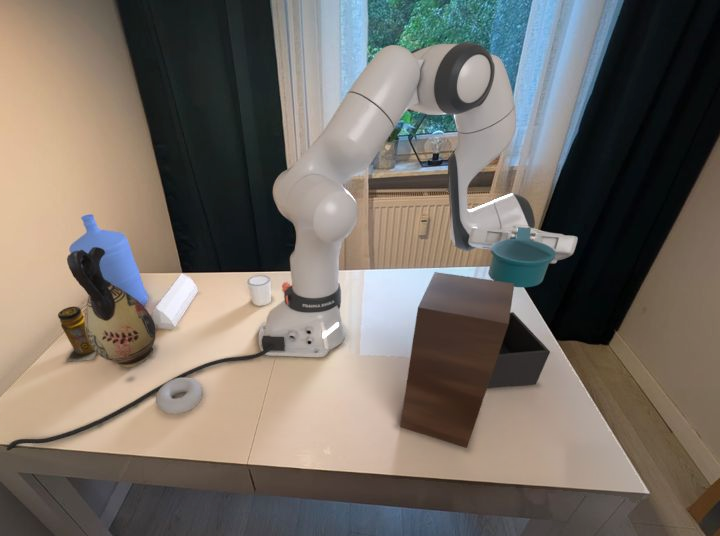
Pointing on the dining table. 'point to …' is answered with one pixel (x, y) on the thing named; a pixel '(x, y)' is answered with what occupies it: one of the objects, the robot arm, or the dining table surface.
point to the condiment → (76, 334)
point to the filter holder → (520, 260)
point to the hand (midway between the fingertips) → (522, 236)
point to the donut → (182, 403)
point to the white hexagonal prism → (174, 303)
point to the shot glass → (260, 289)
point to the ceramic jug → (112, 314)
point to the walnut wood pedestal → (454, 354)
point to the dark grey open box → (518, 357)
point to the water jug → (113, 258)
